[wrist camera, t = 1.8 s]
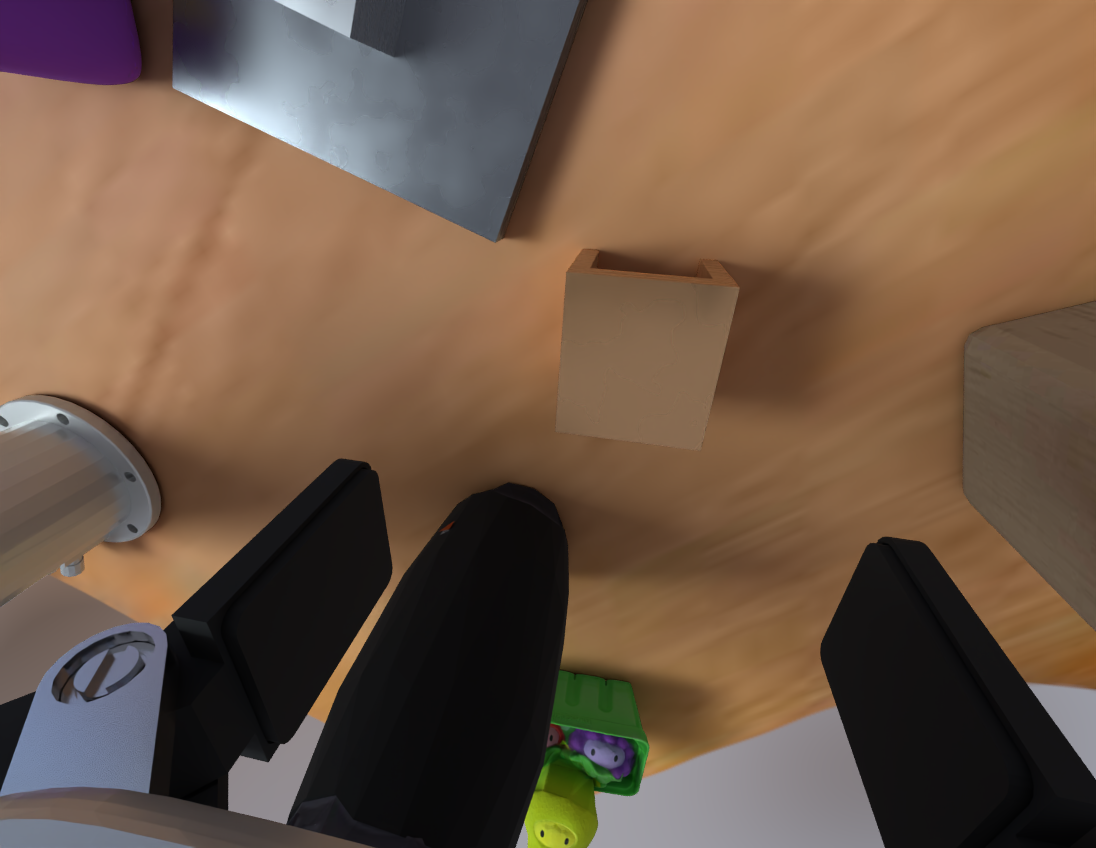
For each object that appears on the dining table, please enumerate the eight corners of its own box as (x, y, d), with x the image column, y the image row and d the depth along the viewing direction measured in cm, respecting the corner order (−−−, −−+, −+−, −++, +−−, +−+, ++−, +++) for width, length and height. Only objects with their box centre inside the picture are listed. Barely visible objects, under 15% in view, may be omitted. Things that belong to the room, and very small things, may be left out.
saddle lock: (688, 394, 26) (700, 450, 21) (571, 380, 27) (555, 432, 22) (717, 260, 23) (739, 287, 18) (582, 248, 24) (566, 271, 18)
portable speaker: (429, 480, 32) (188, 837, 15) (568, 470, 30) (471, 873, 13) (464, 577, 36) (303, 953, 19) (590, 574, 33) (538, 997, 16)
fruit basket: (650, 674, 37) (653, 856, 28) (635, 739, 42) (634, 917, 32) (506, 648, 39) (460, 812, 29) (506, 714, 43) (466, 877, 33)
